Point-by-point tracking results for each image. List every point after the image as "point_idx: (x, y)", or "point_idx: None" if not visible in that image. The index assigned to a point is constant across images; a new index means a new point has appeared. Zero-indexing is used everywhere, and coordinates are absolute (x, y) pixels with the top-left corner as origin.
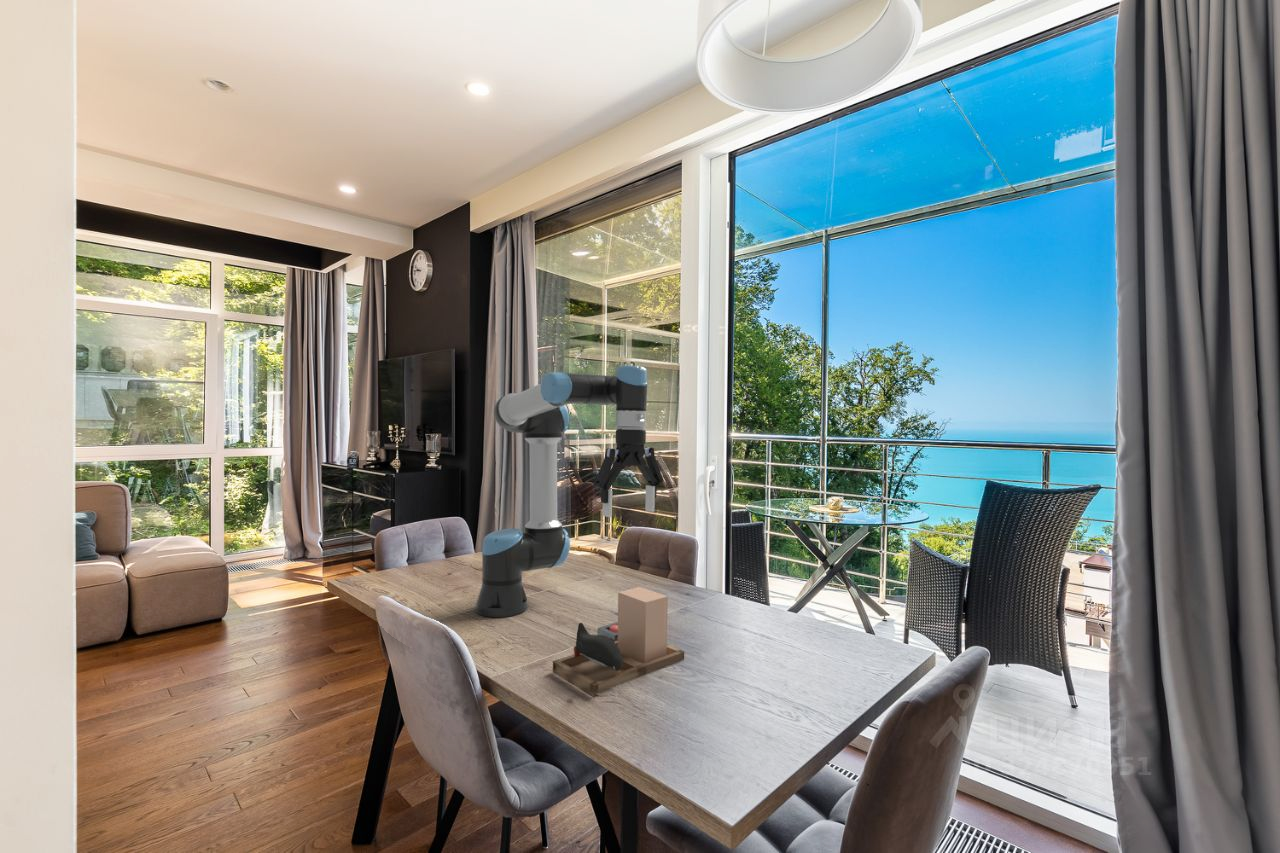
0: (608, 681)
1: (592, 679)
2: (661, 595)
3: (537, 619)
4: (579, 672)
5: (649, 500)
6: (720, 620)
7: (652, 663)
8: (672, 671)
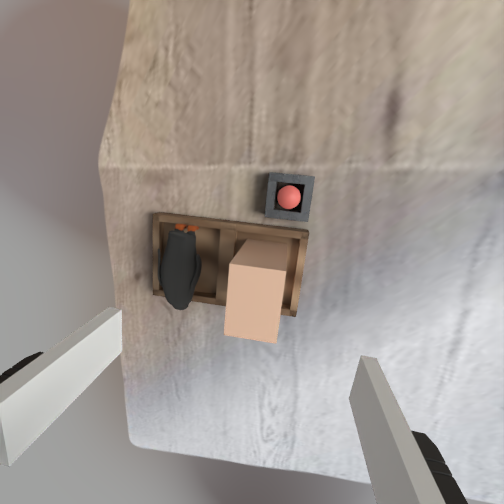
0: None
1: None
2: (272, 332)
3: (262, 5)
4: None
5: (368, 429)
6: (483, 263)
7: None
8: None
